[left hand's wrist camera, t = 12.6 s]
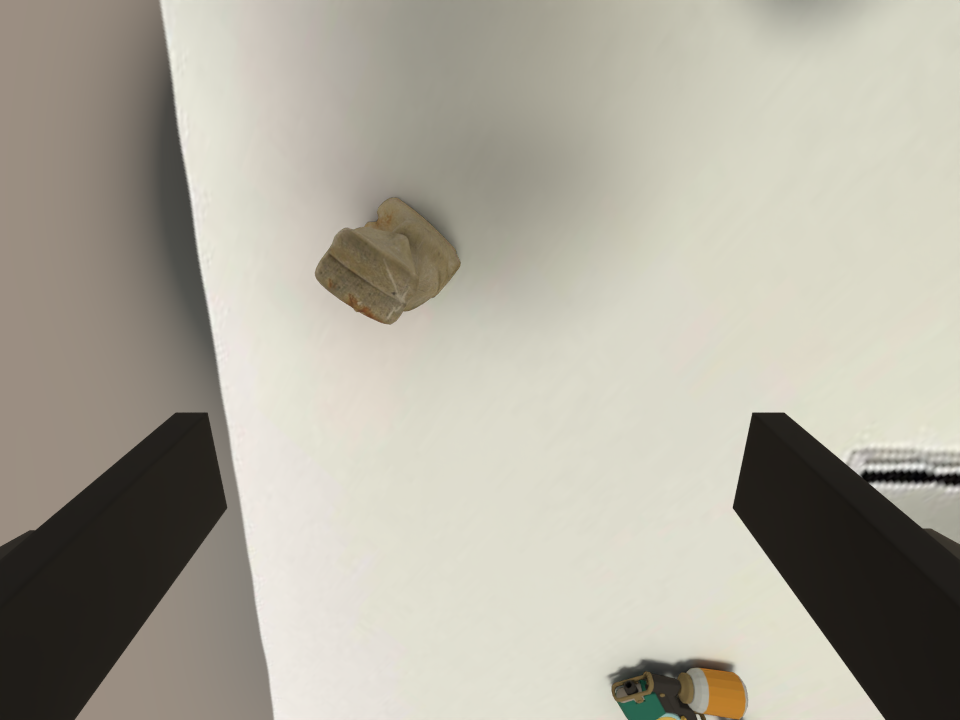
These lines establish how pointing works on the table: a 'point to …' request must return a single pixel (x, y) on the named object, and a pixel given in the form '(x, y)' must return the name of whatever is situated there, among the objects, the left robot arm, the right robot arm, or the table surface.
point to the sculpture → (388, 263)
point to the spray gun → (682, 695)
